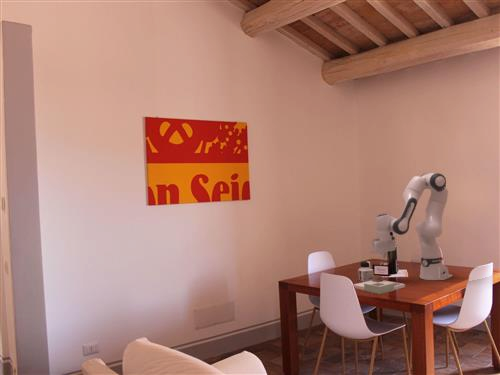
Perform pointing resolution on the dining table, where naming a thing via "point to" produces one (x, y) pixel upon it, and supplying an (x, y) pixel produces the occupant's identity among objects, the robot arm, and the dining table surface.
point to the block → (377, 278)
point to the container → (365, 272)
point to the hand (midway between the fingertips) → (384, 258)
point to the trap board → (379, 286)
